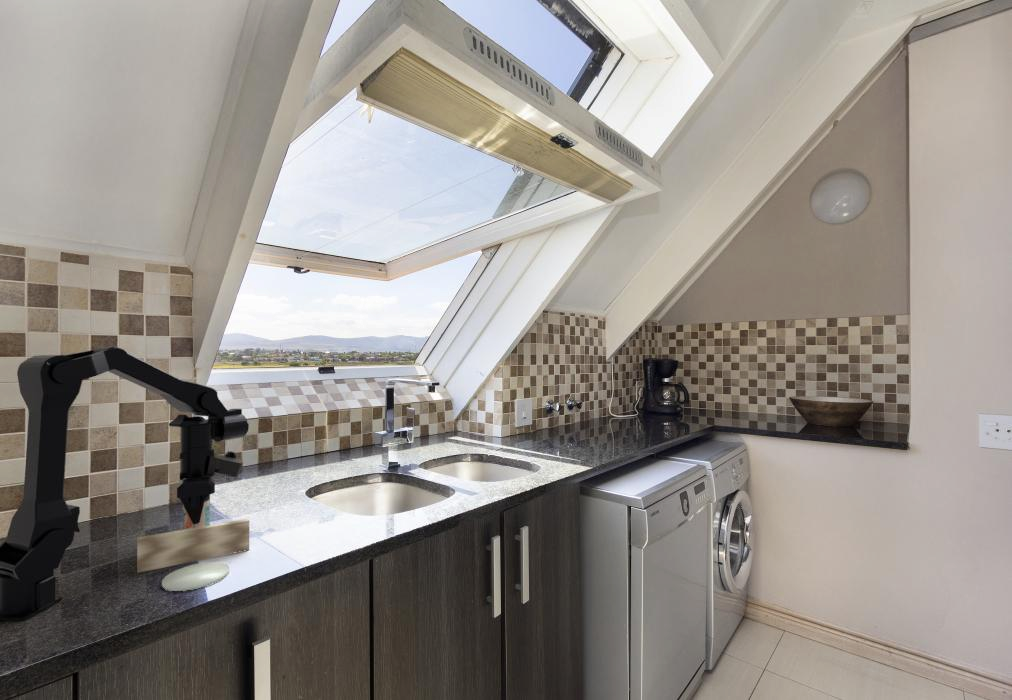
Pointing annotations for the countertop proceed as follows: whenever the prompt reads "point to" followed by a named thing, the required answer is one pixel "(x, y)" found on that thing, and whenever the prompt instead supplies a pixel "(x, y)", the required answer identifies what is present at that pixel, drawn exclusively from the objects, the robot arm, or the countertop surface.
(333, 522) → the countertop surface
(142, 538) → the birch screen
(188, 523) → the beer can
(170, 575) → the sage pad
